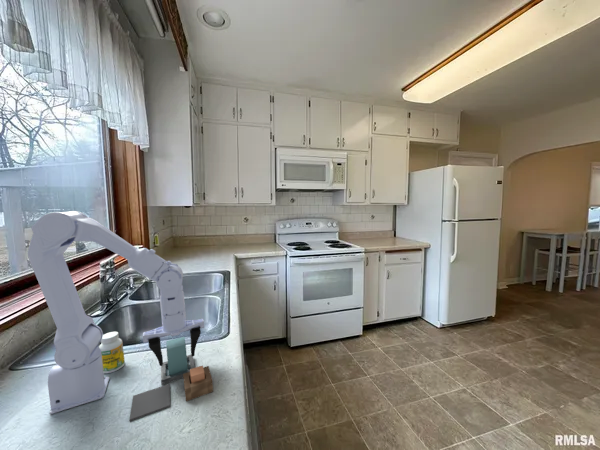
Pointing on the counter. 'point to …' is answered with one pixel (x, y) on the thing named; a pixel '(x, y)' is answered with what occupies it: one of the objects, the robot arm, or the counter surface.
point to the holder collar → (176, 376)
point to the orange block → (197, 374)
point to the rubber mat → (150, 402)
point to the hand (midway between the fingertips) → (177, 359)
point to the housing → (198, 385)
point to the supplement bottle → (112, 352)
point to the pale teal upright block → (176, 355)
